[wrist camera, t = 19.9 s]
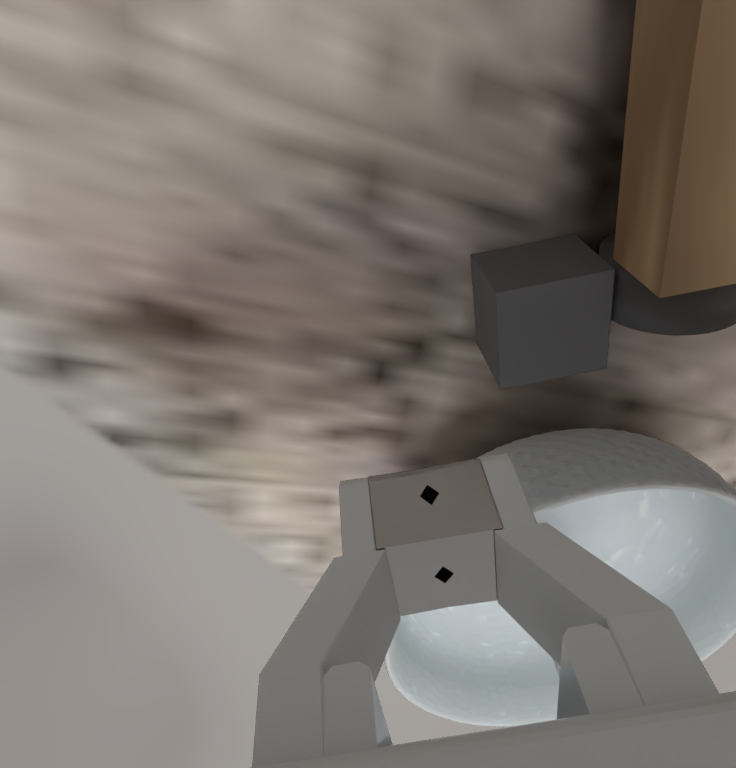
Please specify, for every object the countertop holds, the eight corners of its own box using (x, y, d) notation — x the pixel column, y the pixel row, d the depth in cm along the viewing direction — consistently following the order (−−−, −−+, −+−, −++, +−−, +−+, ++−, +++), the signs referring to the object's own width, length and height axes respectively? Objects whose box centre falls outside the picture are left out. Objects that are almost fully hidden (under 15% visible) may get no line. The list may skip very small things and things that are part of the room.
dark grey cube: (573, 232, 22) (614, 269, 19) (569, 323, 25) (606, 368, 22) (469, 253, 22) (496, 293, 19) (476, 342, 25) (500, 389, 22)
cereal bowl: (482, 641, 37) (518, 763, 31) (296, 518, 29) (297, 651, 23) (733, 500, 32) (830, 614, 26) (590, 303, 24) (686, 405, 18)
